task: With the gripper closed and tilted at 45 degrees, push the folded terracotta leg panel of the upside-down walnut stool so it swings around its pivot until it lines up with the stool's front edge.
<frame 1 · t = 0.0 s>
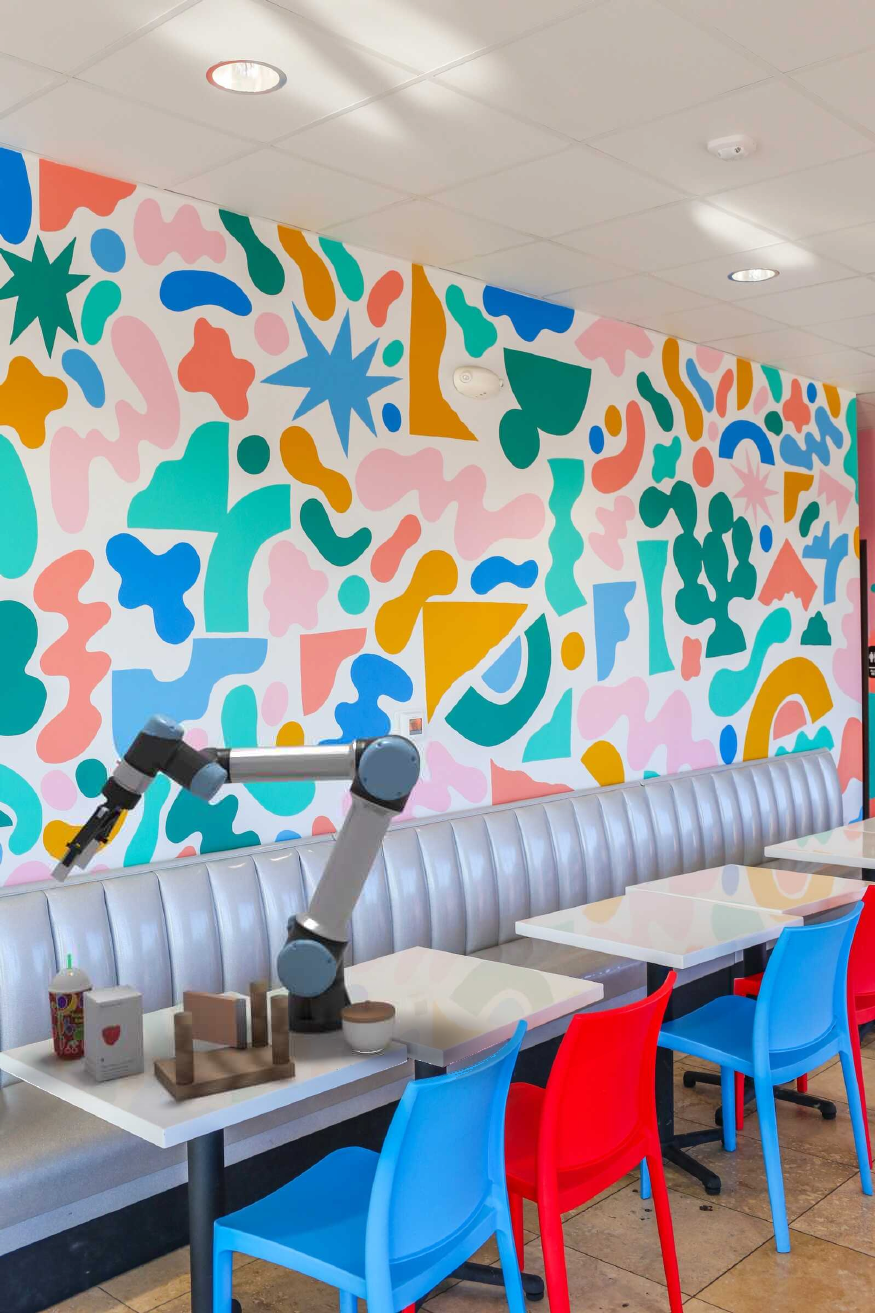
hand: (67, 872, 234), 36 cm above the table, tool tilted 35°, fingers open, 13 cm apart
lidded jar: (369, 1049, 230), on the table
smoothie: (72, 1056, 231), on the table
leg panel: (215, 1018, 228), point 7 cm above the table, hinge at -60.0°
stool: (224, 1075, 217), on the table
supplement box: (114, 1072, 221), on the table
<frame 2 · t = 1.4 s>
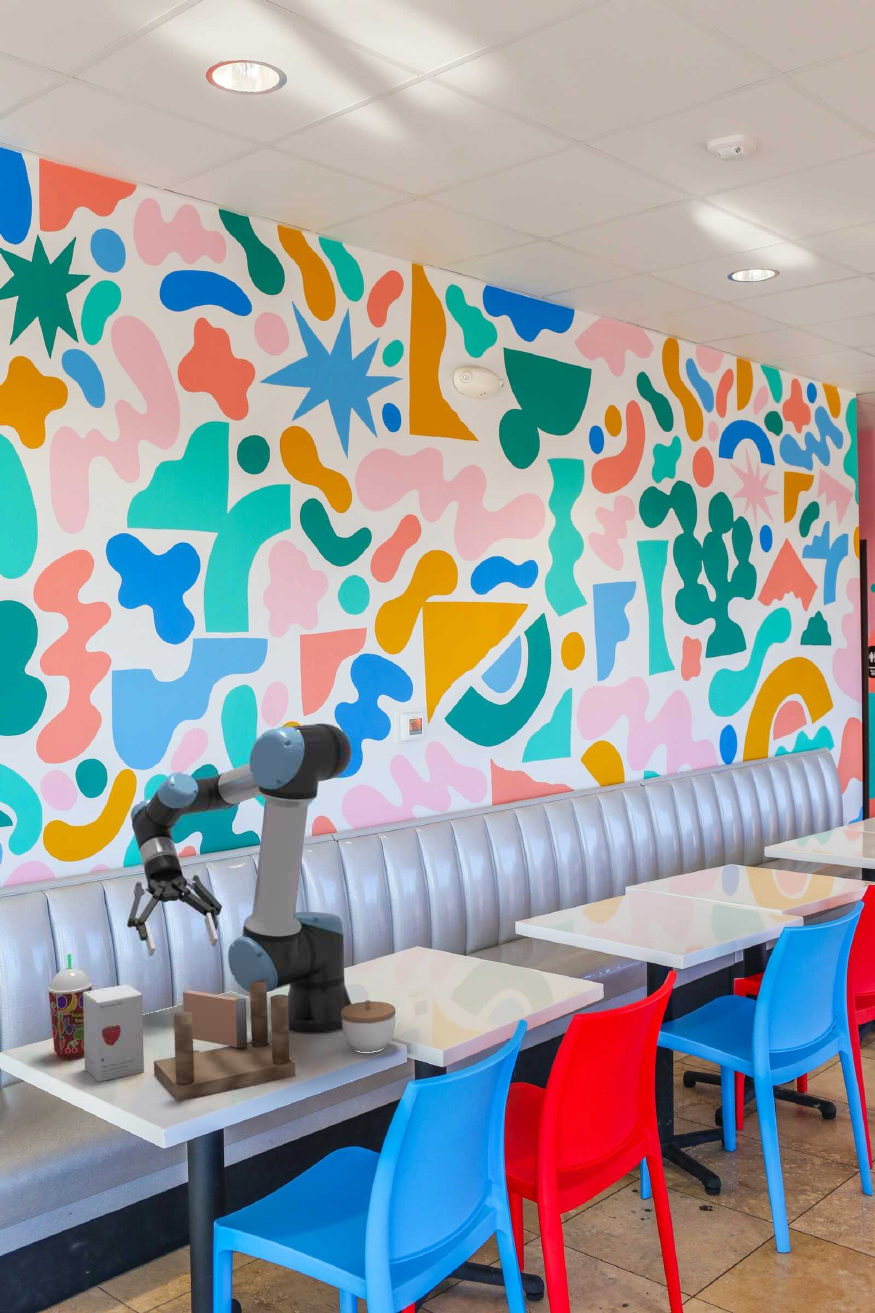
hand: (184, 947, 240), 19 cm above the table, tool tilted 45°, fingers open, 12 cm apart
nothing on the table moved.
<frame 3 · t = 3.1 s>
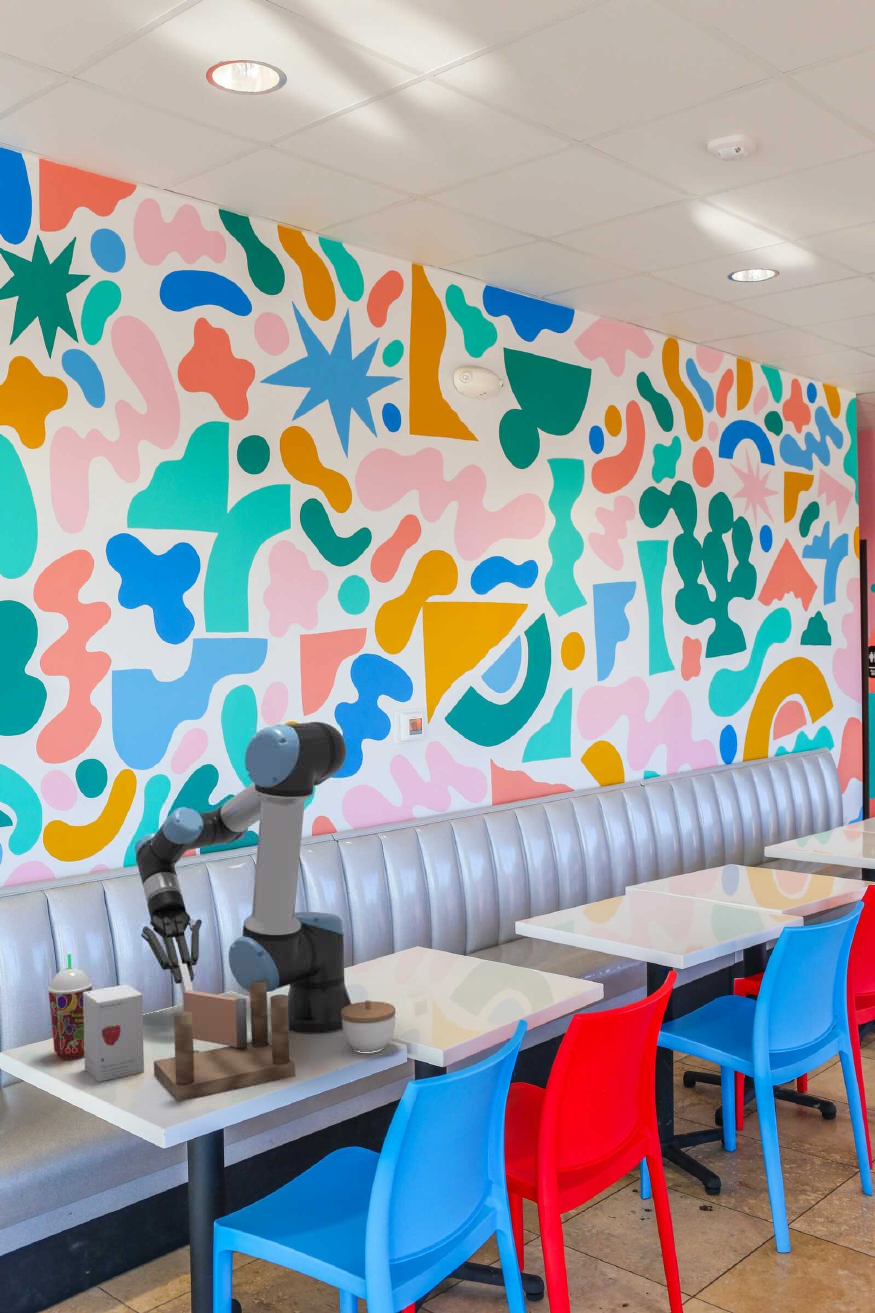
hand: (188, 995, 237), 10 cm above the table, tool tilted 45°, fingers closed
nothing on the table moved.
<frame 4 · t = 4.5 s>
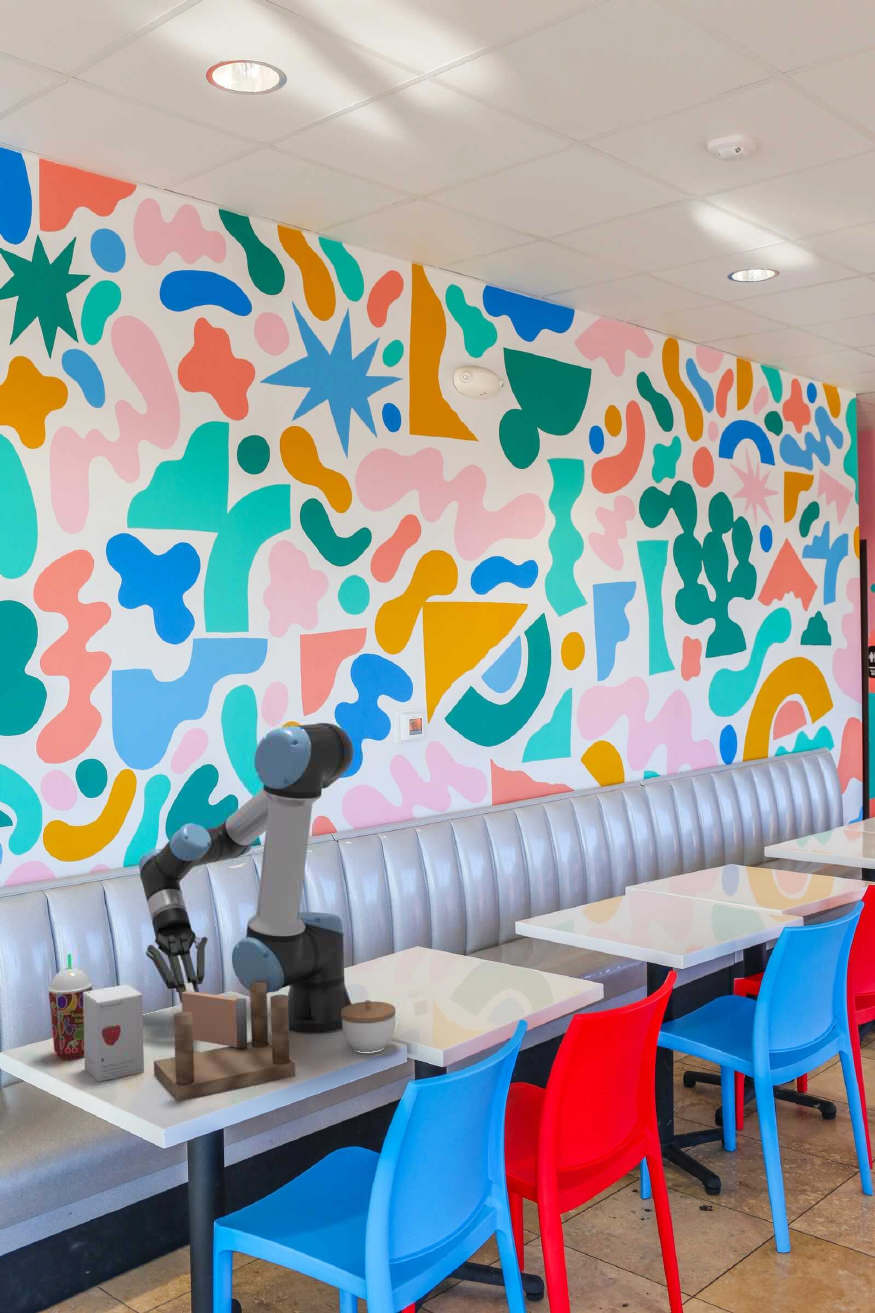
hand: (194, 1015, 233), 7 cm above the table, tool tilted 45°, fingers closed
leg panel: (214, 1019, 228), point 7 cm above the table, hinge at -58.2°, touching gripper
everything else where it was.
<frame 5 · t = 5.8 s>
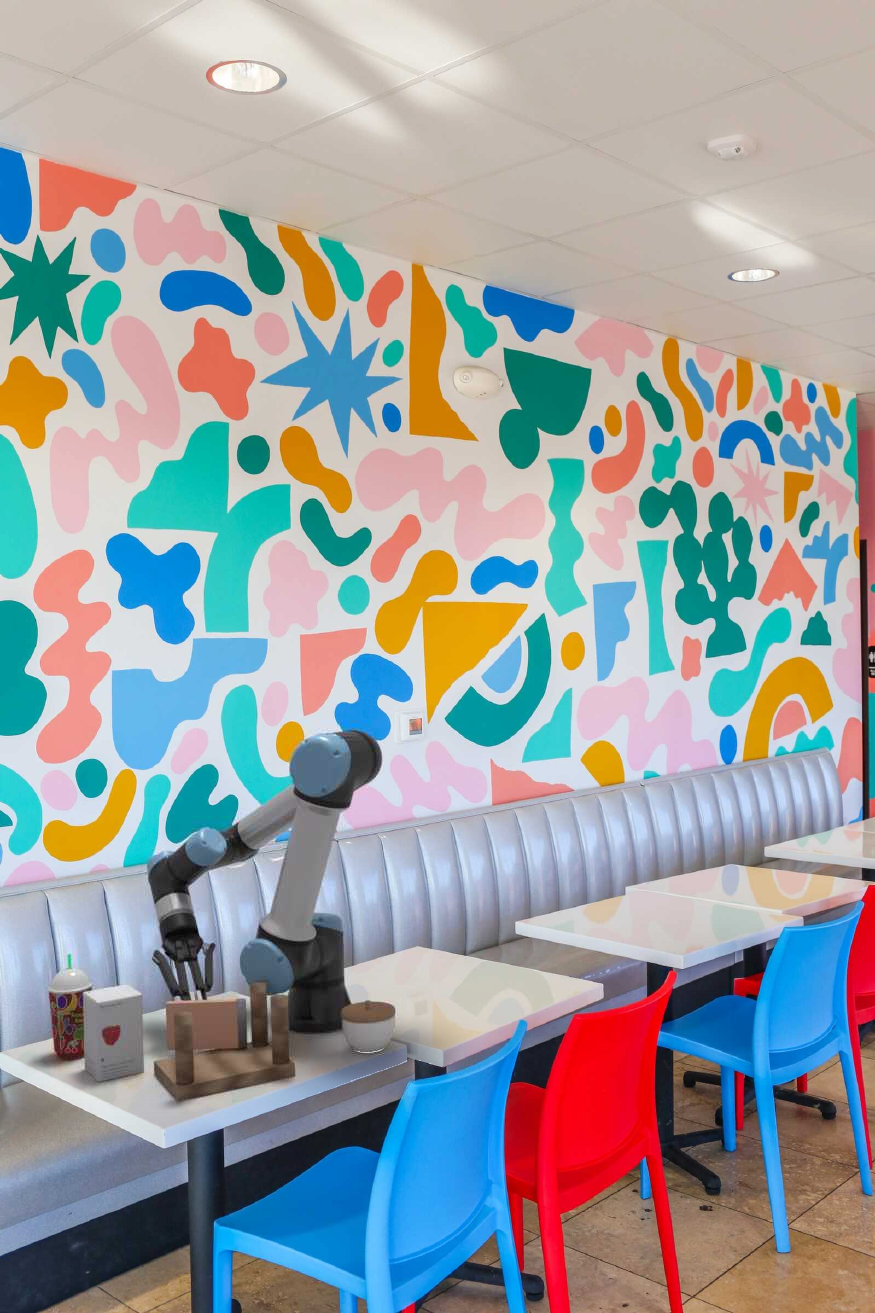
hand: (200, 1024, 227), 7 cm above the table, tool tilted 45°, fingers closed
leg panel: (207, 1024, 225), point 7 cm above the table, hinge at -28.7°, touching gripper
everything else where it was.
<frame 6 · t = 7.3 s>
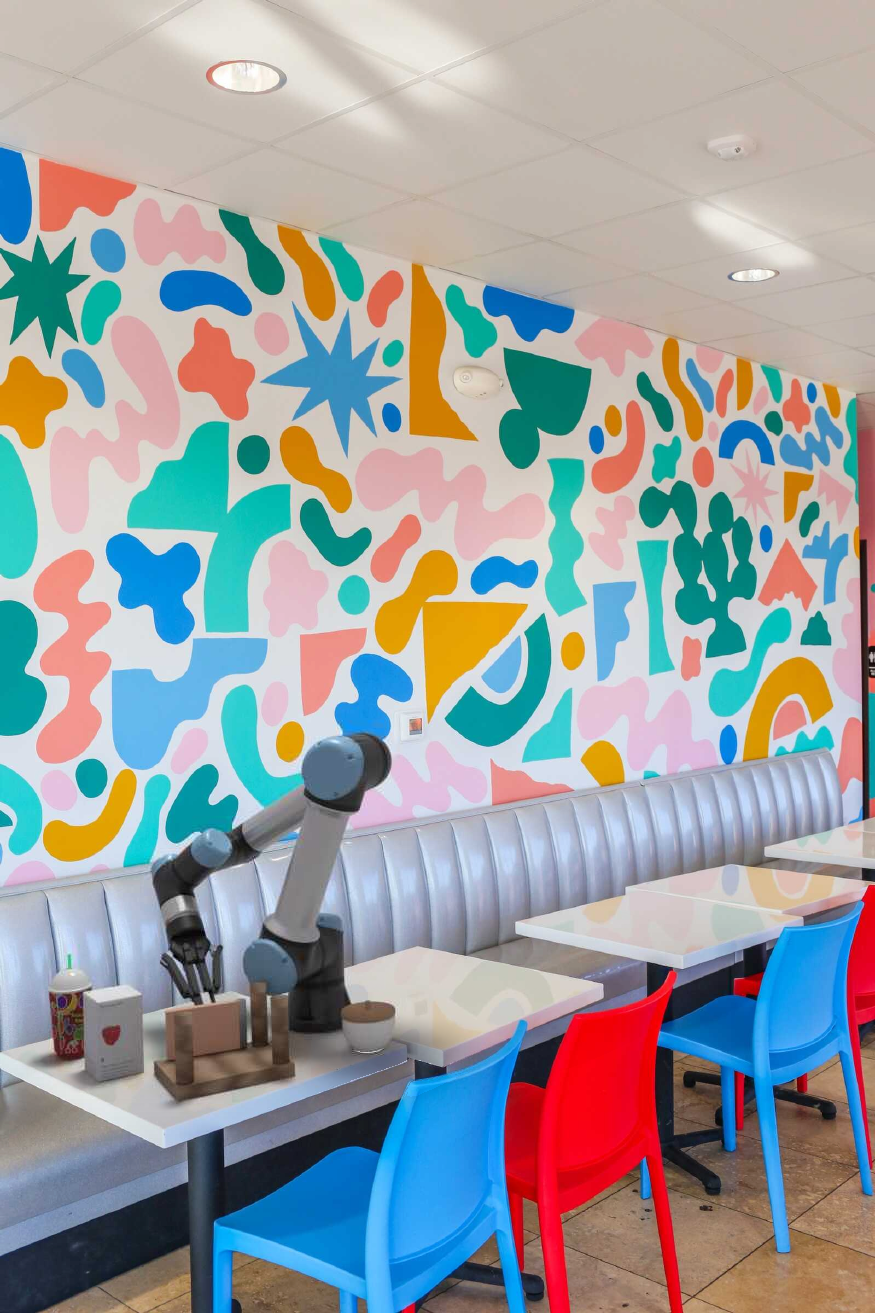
hand: (211, 1025, 225), 7 cm above the table, tool tilted 45°, fingers closed
leg panel: (207, 1028, 222), point 7 cm above the table, hinge at -5.2°
everything else where it was.
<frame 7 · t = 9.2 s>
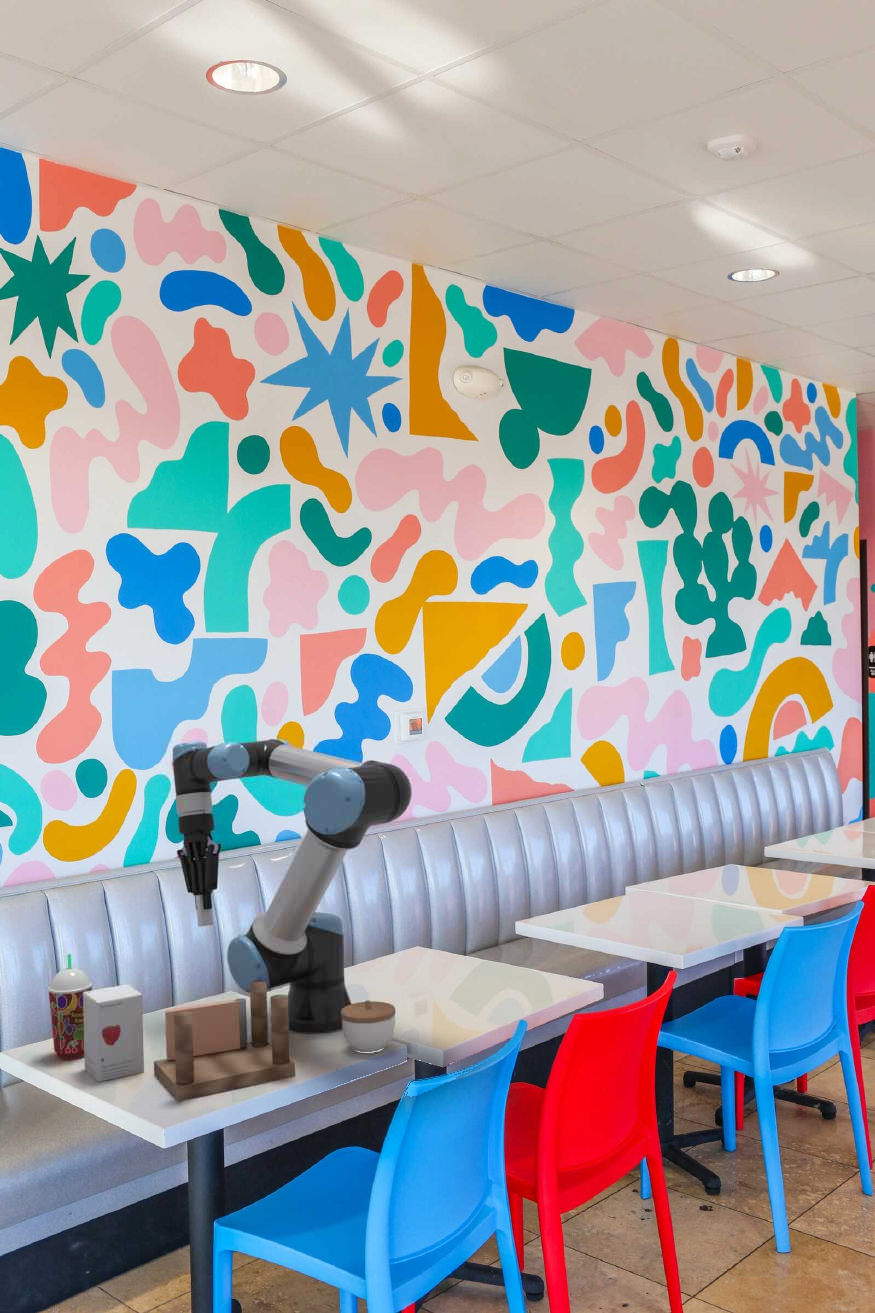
hand: (205, 925, 247), 21 cm above the table, tool pointing down, fingers closed
nothing on the table moved.
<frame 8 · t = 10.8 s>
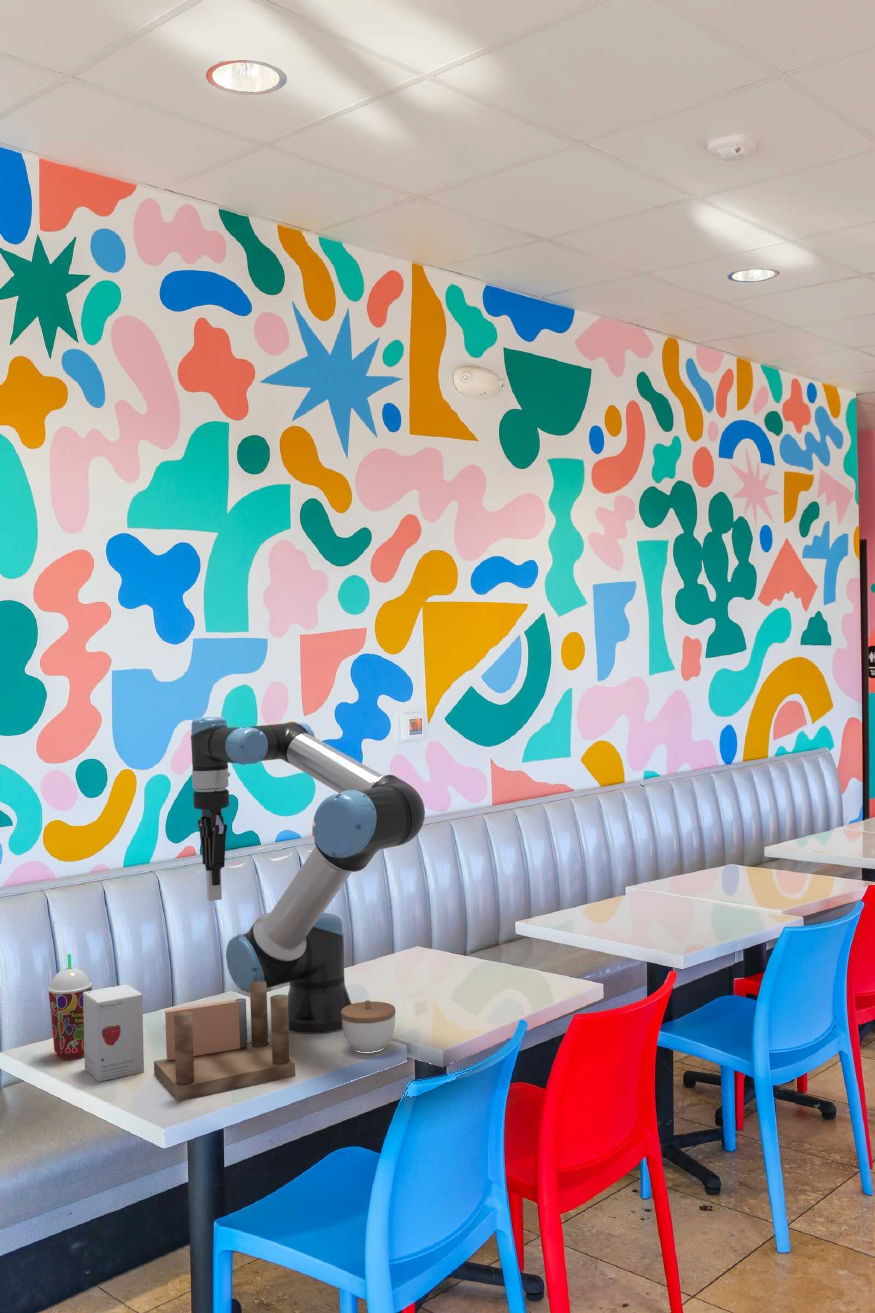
hand: (214, 899, 249), 26 cm above the table, tool pointing down, fingers closed
nothing on the table moved.
at the end: leg panel at -5° (first picture: -60°); supplement box moved 0.3 cm from its start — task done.
